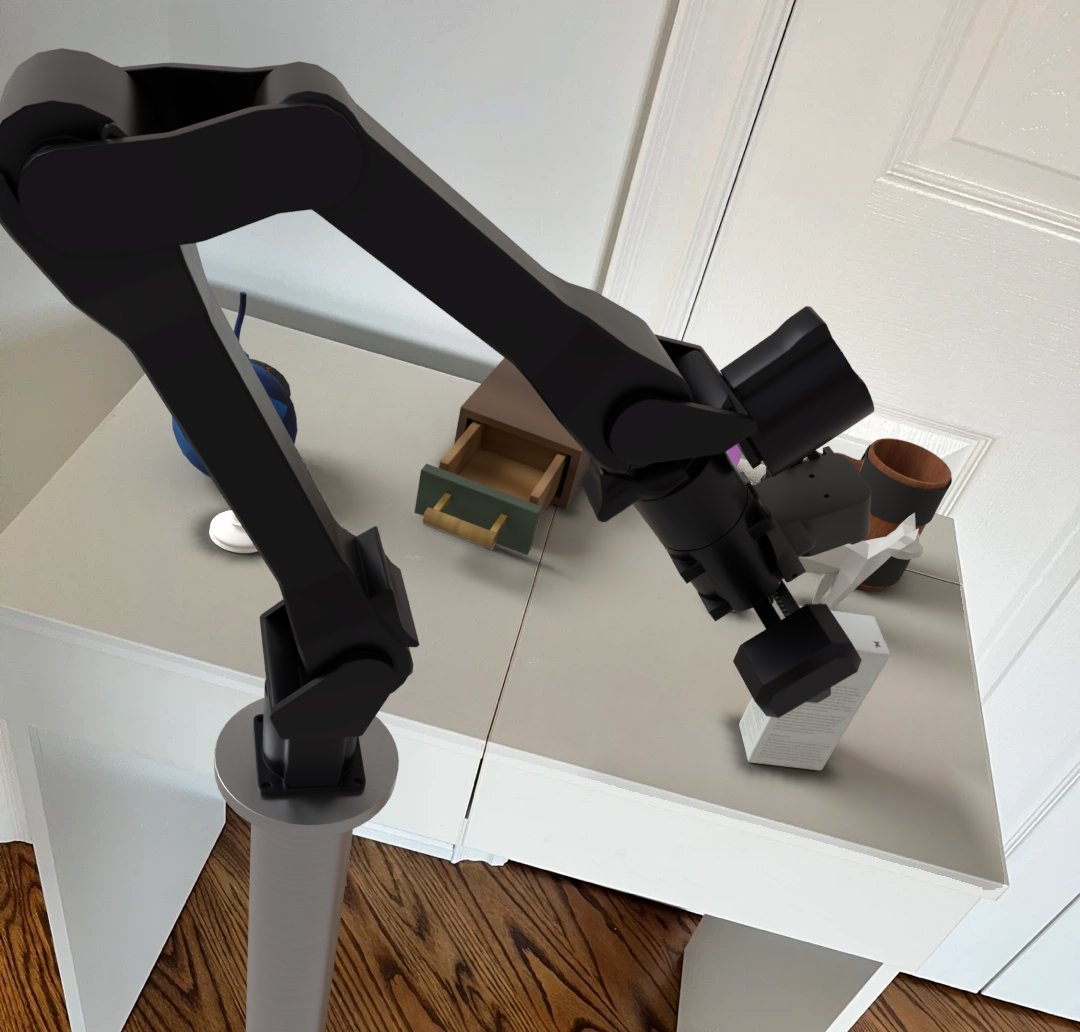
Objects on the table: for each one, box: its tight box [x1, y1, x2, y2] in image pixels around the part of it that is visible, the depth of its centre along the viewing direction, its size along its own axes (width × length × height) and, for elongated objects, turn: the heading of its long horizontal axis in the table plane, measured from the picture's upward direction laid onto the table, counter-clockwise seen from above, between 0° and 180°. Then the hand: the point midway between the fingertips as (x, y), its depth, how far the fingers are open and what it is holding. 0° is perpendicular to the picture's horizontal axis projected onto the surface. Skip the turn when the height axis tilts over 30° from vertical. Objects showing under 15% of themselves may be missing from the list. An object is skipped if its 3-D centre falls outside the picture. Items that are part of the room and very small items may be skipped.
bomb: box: [171, 291, 298, 478], centre depth 81 cm, size 10×11×15 cm
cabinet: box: [453, 357, 590, 510], centre depth 96 cm, size 14×12×6 cm
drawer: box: [414, 420, 570, 556], centre depth 87 cm, size 17×10×4 cm, turn 162°
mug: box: [834, 437, 953, 592], centre depth 93 cm, size 9×12×12 cm
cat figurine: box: [726, 451, 924, 614], centre depth 84 cm, size 4×20×14 cm, turn 83°
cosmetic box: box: [738, 604, 892, 771], centre depth 73 cm, size 6×4×12 cm
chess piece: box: [209, 509, 259, 554], centre depth 77 cm, size 5×5×10 cm
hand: (794, 649), depth 69 cm, fingers open, 9 cm apart
